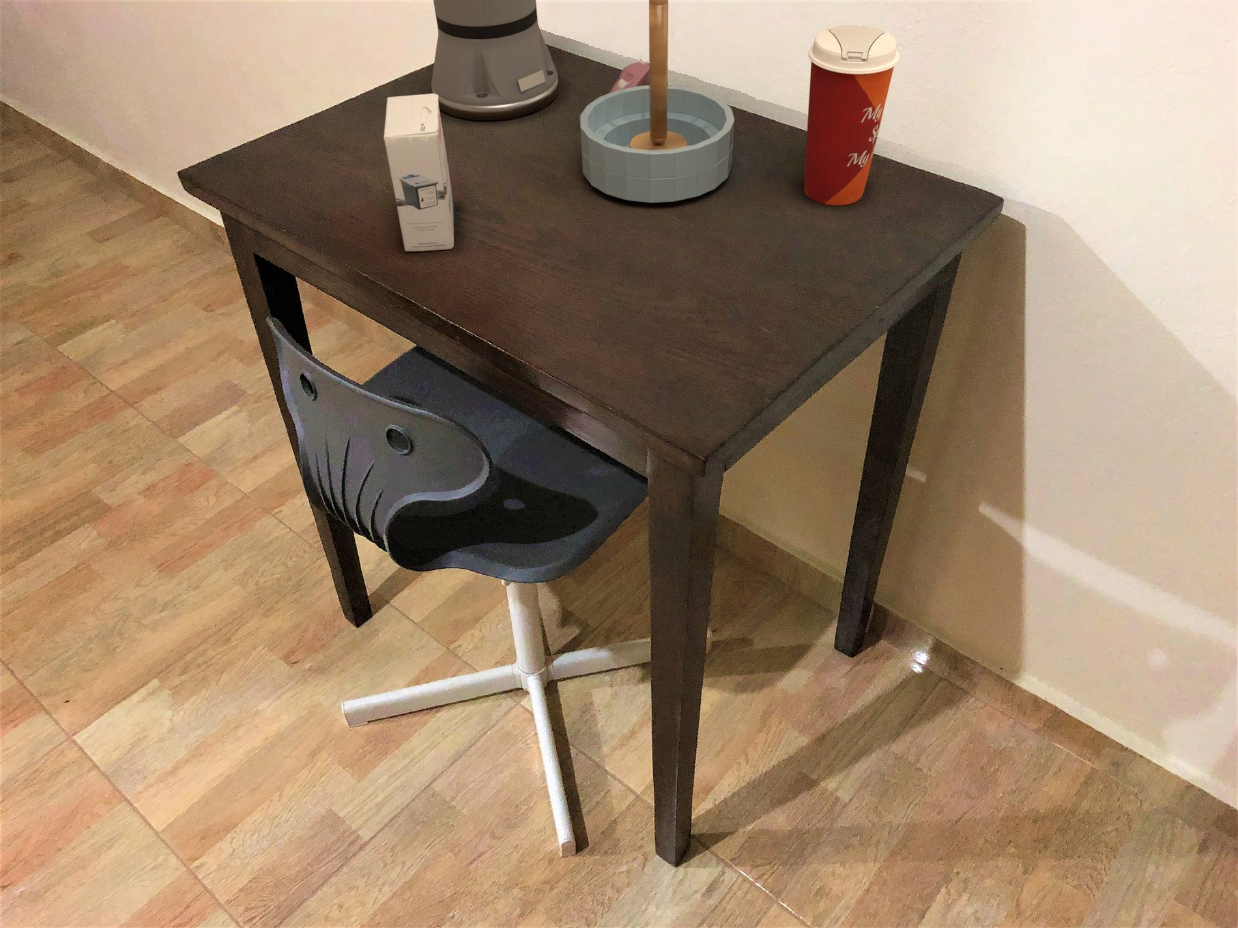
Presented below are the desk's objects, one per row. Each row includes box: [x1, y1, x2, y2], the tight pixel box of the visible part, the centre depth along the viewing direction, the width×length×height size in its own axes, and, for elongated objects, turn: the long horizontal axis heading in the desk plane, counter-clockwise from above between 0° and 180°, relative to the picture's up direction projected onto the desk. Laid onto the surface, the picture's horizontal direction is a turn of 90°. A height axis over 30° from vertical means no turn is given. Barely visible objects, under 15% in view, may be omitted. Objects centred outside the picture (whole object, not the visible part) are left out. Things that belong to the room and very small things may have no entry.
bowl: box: [579, 84, 736, 204], centre depth 97 cm, size 16×16×6 cm
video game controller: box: [609, 58, 649, 93], centre depth 107 cm, size 10×5×7 cm, turn 158°
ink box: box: [383, 93, 455, 252], centre depth 88 cm, size 9×5×12 cm, turn 7°
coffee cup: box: [803, 25, 900, 206], centre depth 90 cm, size 8×8×15 cm
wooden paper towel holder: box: [630, 0, 687, 150], centre depth 92 cm, size 6×6×17 cm
